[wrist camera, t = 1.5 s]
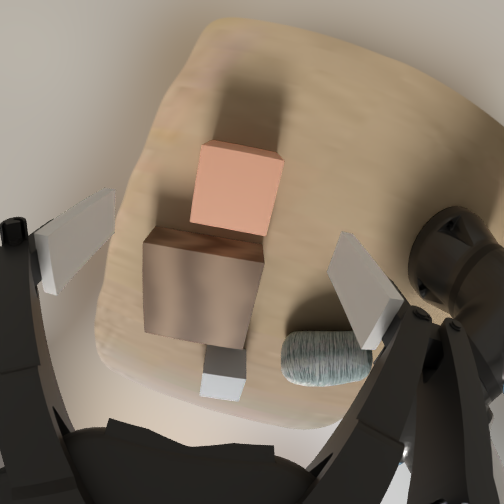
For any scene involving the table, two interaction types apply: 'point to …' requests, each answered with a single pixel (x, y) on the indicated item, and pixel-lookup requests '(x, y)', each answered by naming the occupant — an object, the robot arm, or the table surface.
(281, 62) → the table surface
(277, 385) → the table surface
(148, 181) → the table surface
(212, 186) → the terracotta cube
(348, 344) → the yarn skein
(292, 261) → the table surface
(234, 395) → the grey cube
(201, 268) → the walnut block
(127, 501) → the robot arm
